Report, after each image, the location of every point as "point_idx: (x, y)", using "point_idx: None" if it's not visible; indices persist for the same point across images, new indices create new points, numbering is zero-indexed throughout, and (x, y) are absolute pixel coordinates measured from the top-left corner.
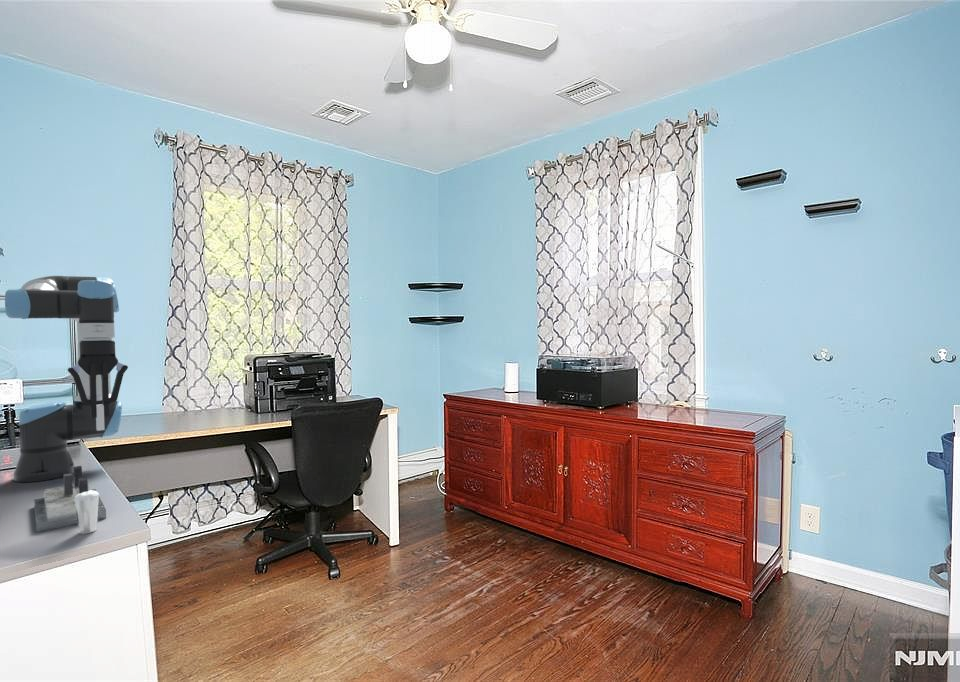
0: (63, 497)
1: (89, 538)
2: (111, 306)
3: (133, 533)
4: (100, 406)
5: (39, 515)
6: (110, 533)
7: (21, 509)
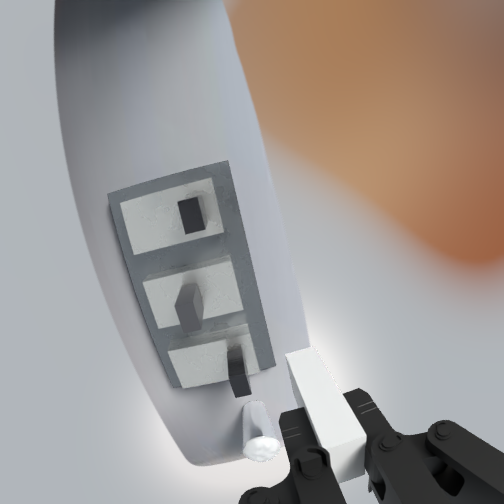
0: None
1: None
2: None
3: None
4: (345, 476)
5: (159, 342)
6: None
7: (93, 198)
